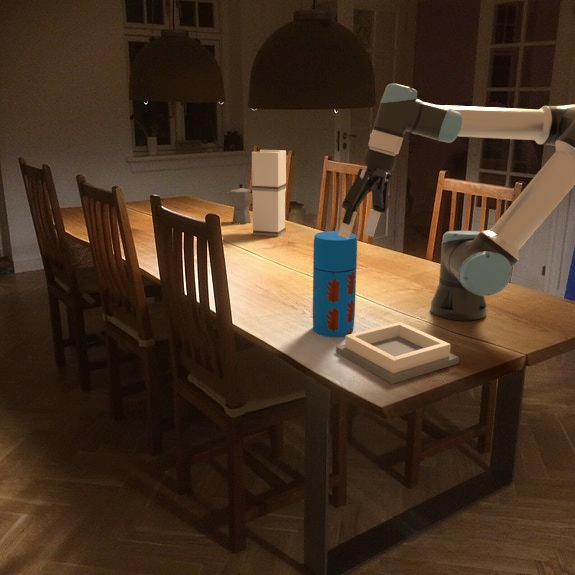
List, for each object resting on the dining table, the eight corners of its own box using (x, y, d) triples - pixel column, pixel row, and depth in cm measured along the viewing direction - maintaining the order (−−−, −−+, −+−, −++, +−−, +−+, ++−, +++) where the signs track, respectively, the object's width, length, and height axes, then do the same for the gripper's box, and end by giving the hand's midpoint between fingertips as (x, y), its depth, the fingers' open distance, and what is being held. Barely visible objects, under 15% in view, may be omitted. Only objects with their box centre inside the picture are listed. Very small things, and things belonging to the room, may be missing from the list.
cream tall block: (285, 231, 277) (286, 150, 266) (278, 236, 267) (278, 152, 257) (261, 230, 280) (260, 149, 270) (253, 235, 271) (251, 152, 260)
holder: (399, 335, 160) (400, 319, 159) (458, 363, 144) (460, 344, 143) (335, 352, 150) (336, 334, 149) (392, 384, 134) (393, 364, 133)
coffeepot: (232, 225, 290) (231, 186, 284) (224, 221, 298) (223, 183, 292) (262, 222, 296) (262, 184, 291) (254, 219, 304) (254, 181, 299)
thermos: (362, 329, 165) (366, 235, 157) (337, 340, 157) (340, 242, 149) (329, 319, 172) (331, 229, 164) (304, 329, 164) (305, 235, 156)
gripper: (389, 151, 162) (365, 229, 168) (344, 142, 141) (318, 232, 147) (415, 159, 159) (390, 239, 165) (373, 151, 138) (345, 243, 144)
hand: (356, 236), depth 156 cm, fingers open, 13 cm apart
